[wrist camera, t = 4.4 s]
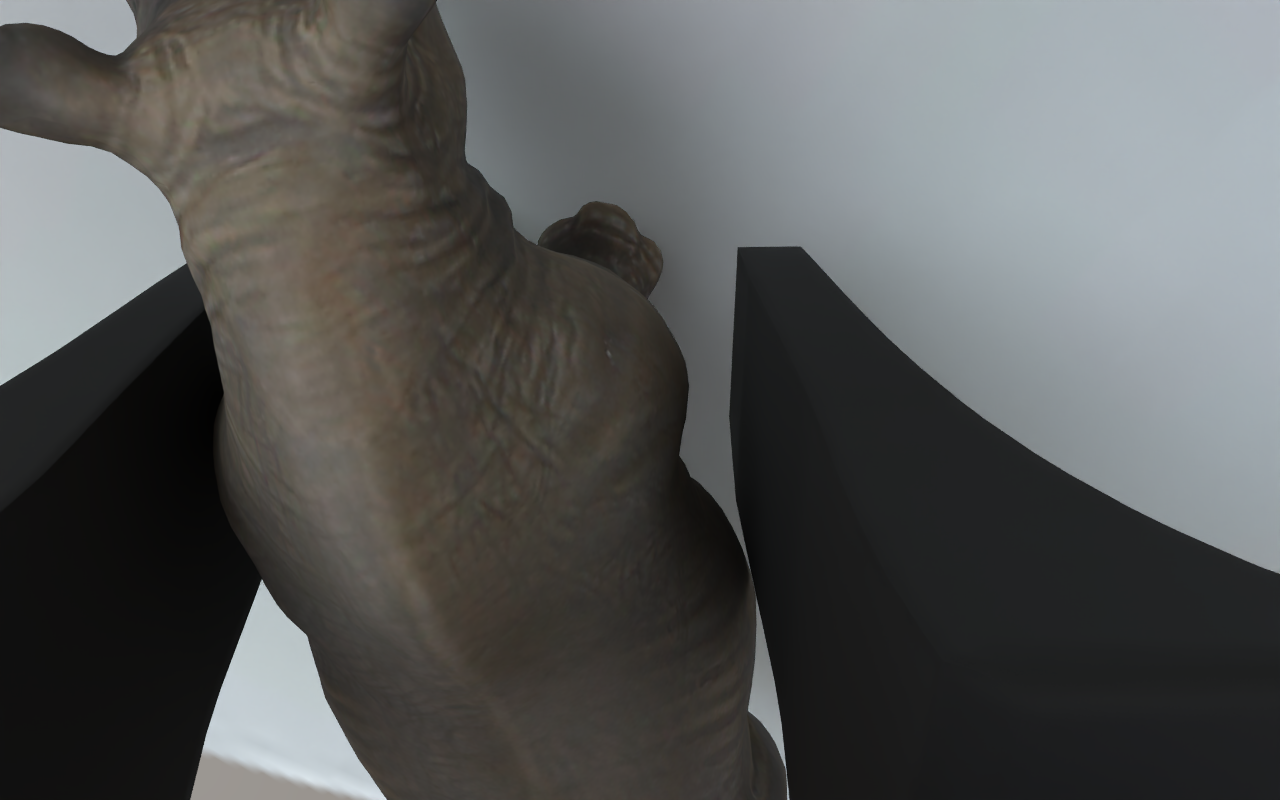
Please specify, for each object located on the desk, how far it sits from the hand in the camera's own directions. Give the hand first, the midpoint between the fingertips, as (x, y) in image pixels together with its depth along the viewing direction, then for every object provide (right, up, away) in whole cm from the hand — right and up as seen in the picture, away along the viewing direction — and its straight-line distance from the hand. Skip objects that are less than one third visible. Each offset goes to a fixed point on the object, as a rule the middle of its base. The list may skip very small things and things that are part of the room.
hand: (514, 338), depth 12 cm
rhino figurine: (0, +1, +1) cm, 2 cm away
